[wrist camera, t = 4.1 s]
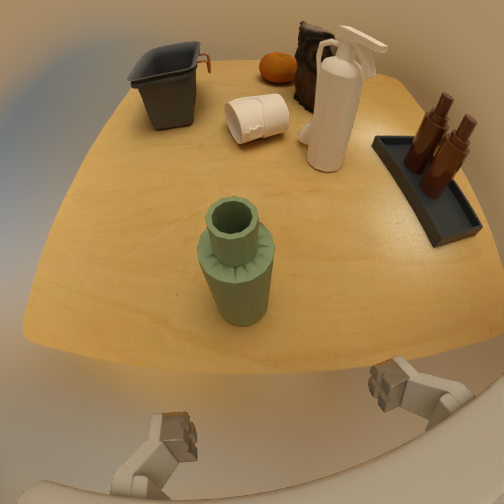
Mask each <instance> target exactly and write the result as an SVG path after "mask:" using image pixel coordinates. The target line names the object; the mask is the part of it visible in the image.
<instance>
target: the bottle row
mask: <svg viewBox="0 0 504 504" xmlns="http://www.w3.org/2000/svg"><path fill="white" fill-rule="evenodd" d="M453 102H454V99H453V98H452V97H451V96H450V95H449V94H447V93H444V92H442V94H441V97H440V99H439V101H438V103H437V106H436V108H432V109H431V111H430V112H426V113H425V115H424V117H423V120H422V122H421V124H420V127H419V129H418V131H417V133H416V135H415V138H414V140H413V142H412V144H411V146H410V148H409V150H408V152H407V154H406V157H405V159H404V164H405V166H406V167H407V168H408V169H409V170H410V171H411V172H413V173H414V174H417V175H423V174H424V175H423V177H422V178H421V180H420V182H419V185H420V188H421V190H422V191H423V192H424V193H425V194H426V195H427V196H428V197H430V198H432V199H438V198H440V196H441V195H442V194H443V192H444V191H445V189H446V188H447V186H448V185H449V184H450V182H451V181H452V179H453V178H454V176H455V175H456V173H457V172H458V170H459V169H460V167H461V166H462V164H463V162H464V161H465V159H466V158H467V156H468V154H469V153H470V152H469V148H468V146H469V145H470V141H469V137H470V136H471V134H472V132H473V130H474V128H475V127H476V125H477V121H476V120H475V119H474V118H473V117H471V116H470V115H468V114H465V116H464V117H463V120H462V121H461V123H460V126H459V127H458V129H457V130H453V131H452V133H448V134H446V133H447V131H448V129H449V126H448V124H447V123H448V121H449V118H448V116H447V115H448V113H449V110H450V108H451V106H452V104H453ZM438 148H439V149H438ZM433 157H434V158H433ZM425 171H426V172H425Z"/></svg>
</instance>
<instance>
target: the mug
mask: <svg viewBox="0 0 504 504" xmlns="http://www.w3.org/2000/svg"><path fill="white" fill-rule="evenodd" d="M225 116H226V120H227V124H228V127H229V129H230V132H231V134H232V136H233V137H234V139H235V140H236V142H237V143H239V144H242V143H245V142H248V141H251V140H254V139H257V138H260V137H262V138H266V137H269V136H272V135H276V134H279V133H283V132H286V131H287V130H288V128H289V123H290V117H289V111H288V108H287V105H286V103H285V101H284V99H283V98H282V97H281V96H280V95H279V94H276V93H275V94H267V95H260V96H250V97H243V98H239V99H235V100H231V101H229V102H227V103H226V104H225Z"/></svg>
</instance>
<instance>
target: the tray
mask: <svg viewBox="0 0 504 504" xmlns="http://www.w3.org/2000/svg"><path fill="white" fill-rule="evenodd" d="M414 138H415V136H375V138H374V141H373V144H372V147H373V149H374V150H375V151H376V153H377V154H378V155H379V157H380V158H381V160H382V161H383V163H384V164H385V166H386V167H387V168H388V170H389V171H390V173H391V174H392V176H393V177H394V179H395V181H396V182H397V184H398V185H399V187H400V188H401V190H402V192H403V193H404V195H405V197H406V198H407V200H408V202H409V203H410V205H411V207H412V208H413V210H414V212H415V214H416V215H417V217H418V219H419V221H420V223H421V224H422V226H423V228H424V230H425V232H426V234H427V236H428V238H429V240H430V242H431V244H432V246H433V248H435V247H438V246H442V245H445V244H448V243H451V242H455V241H458V240H461V239H464V238H467V237H470V236H473V235H476V234H477V233H478V232H479V231H480V230H481V229H482V228H483V226H482V225H481V222H480V221H479V219H478V217H477V215H476V214H475V212H474V210H473V209H472V207H471V205H470V204H469V202H468V200H467V199H466V197H465V196H464V194H463V193H462V191H461V189H460V188H459V186H458V185H457V183H456V182H455V181H454V179H452V181H451V182H450V184H449V185H448V186H447V188H446V189H445V191H444V192H443V194H442V195H441V196H440V198H438V199H432V198H430V197H428V196H427V195H426V194H425V193H424V192H423V191H422V190H421V188H420V185H419V182H420V180H421V178H422V177H423V175H424V174H423V175H417V174H414V173H413V172H411V171H410V170H409V169H408V168H407V167H406V166H405V164H404V159H405V157H406V154H407V152H408V150H409V148H410V146H411V144H412V142H413V140H414ZM433 158H434V157H433ZM425 172H426V171H425Z"/></svg>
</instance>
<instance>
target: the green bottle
mask: <svg viewBox="0 0 504 504" xmlns="http://www.w3.org/2000/svg"><path fill="white" fill-rule="evenodd" d="M206 224H207V229H206V230H205V231H204V232H203V233H202V235H201V236H200V240H199V243H198V246H197V253H198V260H199V263H200V266H201V268H202V271H203V273H204V275H205V278H206V280H207V283H208V285H209V288H210V290H211V292H212V295H213V297H214V299H215V302H216V304H217V306H218V309H219V311H220V313H221V314H222V316H223V317H224V318H225V319H226V320H227V321H228V322H229V323H231V324H233V325H236V326H249V325H252V324H254V323H256V322H258V321H259V320H260V319H261V318H262V317H263V315H264V314H265V312H266V309H267V303H268V296H269V289H270V282H271V274H272V267H273V259H274V251H275V244H274V241H273V238H272V234H271V233H270V232H269V230H268V229H267V228H266V227H265V226H264V225H263V224H262V223H261V222H259V216H258V213H257V209H256V207H255V206H254V205H253V204H252V203H251V202H249V201H248V200H247V199H244V198H240V197H235V196H232V197H227V198H222V199H220V200H218V201H217V202H215V203H214V204H213V205H211V206H210V208H209V210H208V212H207V214H206Z"/></svg>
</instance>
